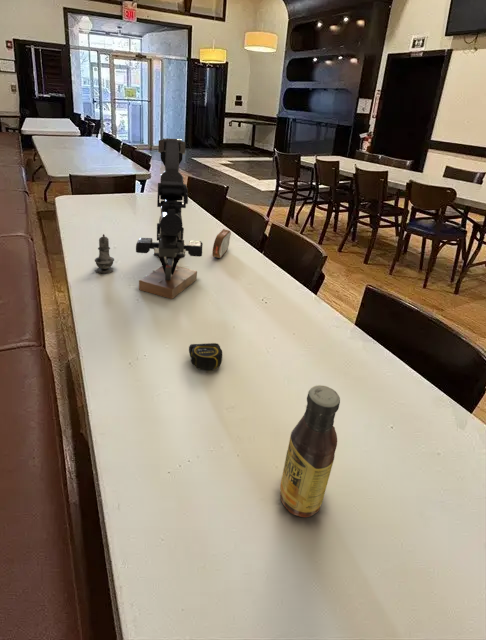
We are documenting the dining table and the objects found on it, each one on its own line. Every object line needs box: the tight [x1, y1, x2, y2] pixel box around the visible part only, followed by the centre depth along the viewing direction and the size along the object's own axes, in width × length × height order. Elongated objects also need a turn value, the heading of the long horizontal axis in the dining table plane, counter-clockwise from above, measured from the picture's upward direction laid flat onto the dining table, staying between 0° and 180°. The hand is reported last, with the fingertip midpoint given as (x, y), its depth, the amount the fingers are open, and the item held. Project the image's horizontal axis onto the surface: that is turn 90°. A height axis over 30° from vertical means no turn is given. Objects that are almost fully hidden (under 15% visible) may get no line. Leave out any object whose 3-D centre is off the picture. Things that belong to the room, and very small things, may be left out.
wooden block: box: [138, 265, 198, 300], centre depth 123 cm, size 15×11×3 cm
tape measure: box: [188, 342, 223, 371], centre depth 88 cm, size 7×7×4 cm
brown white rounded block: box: [211, 228, 232, 259], centre depth 149 cm, size 15×3×8 cm, turn 164°
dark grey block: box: [165, 258, 174, 280], centre depth 122 cm, size 7×2×4 cm, turn 1°
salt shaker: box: [94, 233, 115, 275], centre depth 127 cm, size 6×6×12 cm
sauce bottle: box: [279, 384, 341, 518], centre depth 57 cm, size 6×6×20 cm
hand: (169, 273), depth 122 cm, fingers closed on dark grey block, 2 cm apart
